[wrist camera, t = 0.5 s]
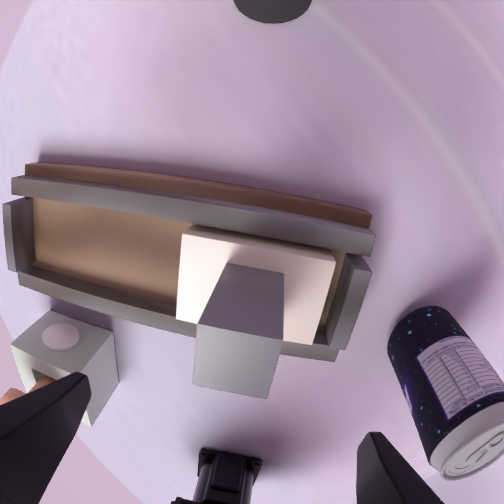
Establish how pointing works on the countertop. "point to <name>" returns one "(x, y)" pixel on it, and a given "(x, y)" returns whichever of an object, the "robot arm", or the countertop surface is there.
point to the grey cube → (69, 356)
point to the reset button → (16, 393)
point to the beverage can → (449, 392)
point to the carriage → (248, 303)
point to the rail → (168, 242)
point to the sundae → (272, 9)
